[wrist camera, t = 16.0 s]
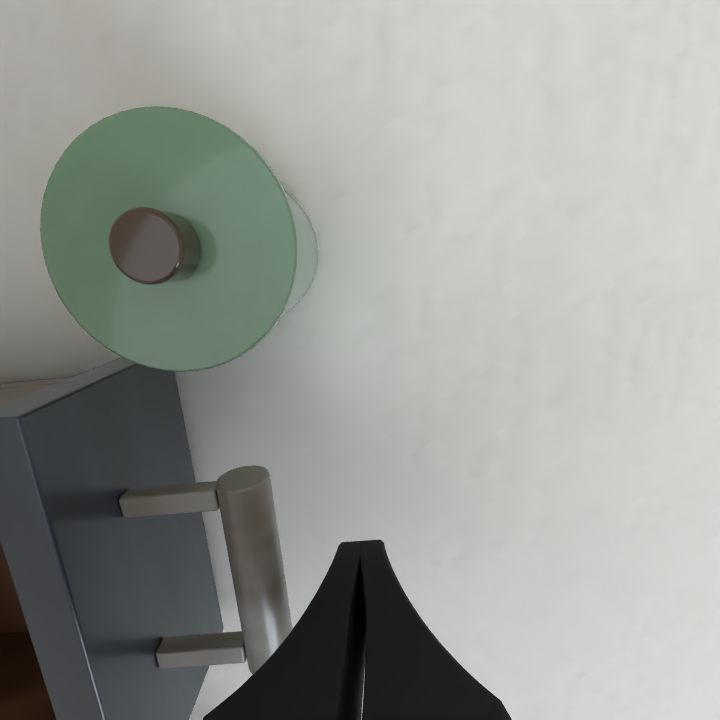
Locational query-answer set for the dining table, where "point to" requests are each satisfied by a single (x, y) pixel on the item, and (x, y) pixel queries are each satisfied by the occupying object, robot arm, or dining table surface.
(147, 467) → the drawer
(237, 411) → the dining table surface
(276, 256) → the pot
